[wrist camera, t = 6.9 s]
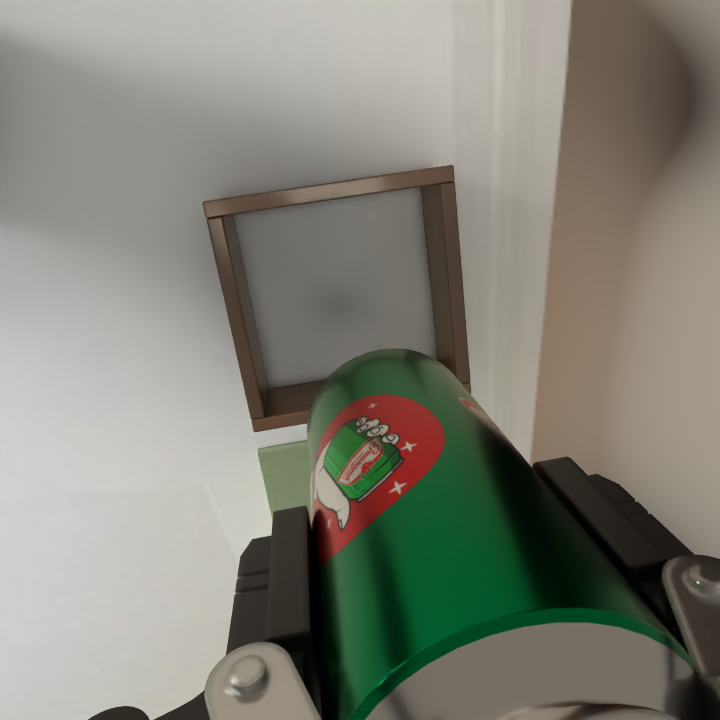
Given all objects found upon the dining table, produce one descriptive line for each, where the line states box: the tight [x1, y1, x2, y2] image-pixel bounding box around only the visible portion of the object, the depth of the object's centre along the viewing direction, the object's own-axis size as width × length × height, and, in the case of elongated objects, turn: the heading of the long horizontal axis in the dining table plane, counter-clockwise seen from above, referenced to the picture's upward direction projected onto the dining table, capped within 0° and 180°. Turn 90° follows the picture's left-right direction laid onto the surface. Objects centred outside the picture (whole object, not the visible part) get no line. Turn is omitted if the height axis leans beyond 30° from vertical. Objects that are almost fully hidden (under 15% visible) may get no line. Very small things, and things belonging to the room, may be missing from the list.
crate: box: [203, 165, 471, 432], centre depth 31 cm, size 13×13×4 cm
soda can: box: [307, 349, 707, 720], centre depth 11 cm, size 5×5×12 cm
